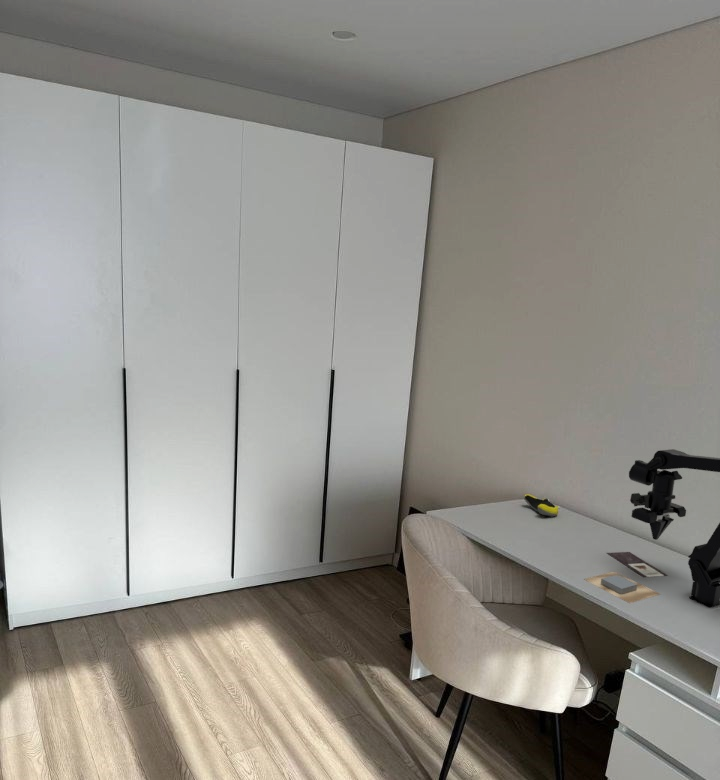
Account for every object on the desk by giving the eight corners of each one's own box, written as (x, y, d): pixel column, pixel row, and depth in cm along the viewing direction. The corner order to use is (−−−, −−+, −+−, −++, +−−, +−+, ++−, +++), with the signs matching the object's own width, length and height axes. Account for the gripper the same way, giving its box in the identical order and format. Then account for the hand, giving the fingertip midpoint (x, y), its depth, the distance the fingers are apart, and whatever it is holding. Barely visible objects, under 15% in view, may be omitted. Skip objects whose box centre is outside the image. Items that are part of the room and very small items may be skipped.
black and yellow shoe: (538, 519, 246) (562, 519, 248) (540, 505, 245) (564, 505, 247) (520, 506, 260) (543, 505, 263) (522, 492, 259) (545, 492, 262)
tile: (637, 584, 189) (621, 588, 185) (636, 590, 189) (620, 594, 186) (617, 574, 195) (601, 578, 191) (616, 580, 195) (600, 584, 192)
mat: (660, 595, 188) (660, 594, 188) (629, 604, 181) (629, 603, 181) (614, 572, 202) (614, 571, 201) (583, 580, 194) (583, 579, 194)
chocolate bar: (629, 551, 218) (667, 575, 201) (628, 554, 219) (667, 578, 201) (606, 552, 216) (643, 576, 199) (606, 555, 216) (642, 579, 199)
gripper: (657, 479, 208) (651, 526, 211) (619, 485, 199) (613, 533, 201) (690, 490, 199) (682, 538, 201) (652, 496, 189) (644, 547, 192)
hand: (655, 539), depth 199 cm, fingers closed
